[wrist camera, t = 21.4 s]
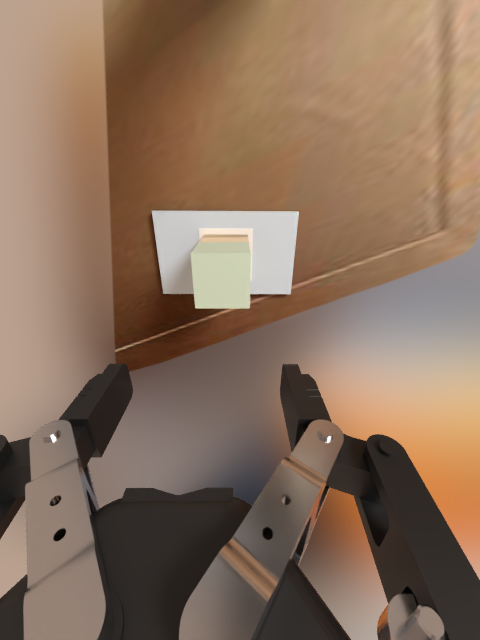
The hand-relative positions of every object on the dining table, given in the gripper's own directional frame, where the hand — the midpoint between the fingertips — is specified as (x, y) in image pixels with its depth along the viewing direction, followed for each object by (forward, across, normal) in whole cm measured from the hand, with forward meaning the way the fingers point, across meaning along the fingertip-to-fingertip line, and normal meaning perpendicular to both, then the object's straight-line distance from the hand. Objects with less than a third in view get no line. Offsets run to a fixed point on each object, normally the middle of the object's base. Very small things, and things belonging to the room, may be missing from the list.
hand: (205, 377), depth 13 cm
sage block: (+21, 0, 0) cm, 21 cm away
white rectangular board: (+28, 0, 0) cm, 28 cm away
